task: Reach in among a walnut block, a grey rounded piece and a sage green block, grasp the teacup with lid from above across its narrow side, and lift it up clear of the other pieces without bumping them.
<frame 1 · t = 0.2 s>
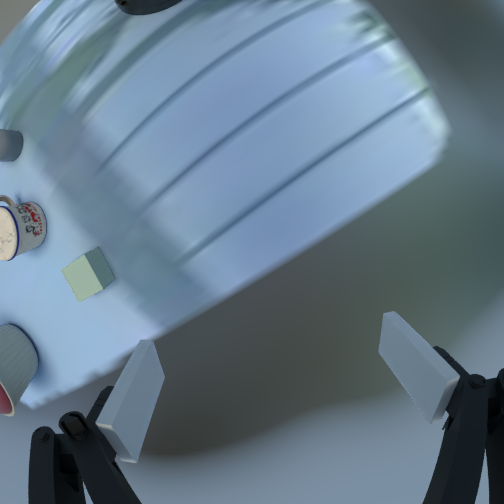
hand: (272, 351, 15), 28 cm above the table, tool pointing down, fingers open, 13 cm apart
canister: (22, 345, 46), on the table
teacup with lid: (29, 218, 39), on the table
grey rounded piece: (14, 146, 35), on the table
sage green block: (95, 269, 42), on the table
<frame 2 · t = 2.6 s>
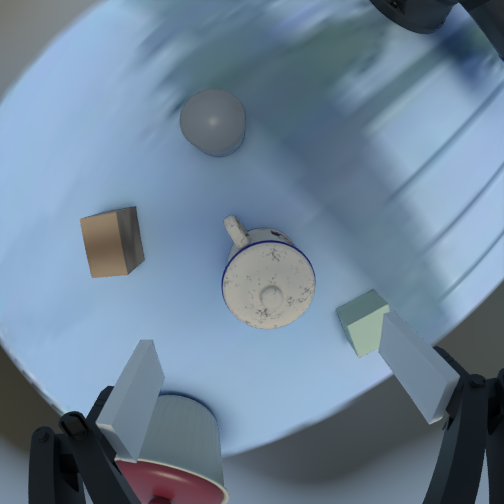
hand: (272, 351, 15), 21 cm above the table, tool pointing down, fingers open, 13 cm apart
canister: (180, 414, 42), on the table
walnut block: (123, 235, 34), on the table
teacup with lid: (256, 251, 35), on the table
grey rounded piece: (219, 132, 31), on the table
sage green block: (360, 315, 38), on the table
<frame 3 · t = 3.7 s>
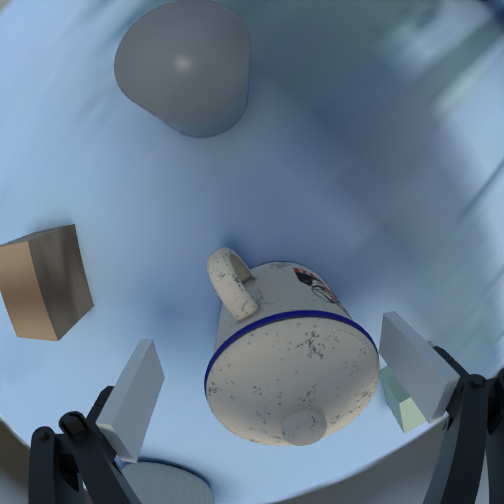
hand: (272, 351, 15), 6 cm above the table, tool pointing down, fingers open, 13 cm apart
canister: (167, 477, 28), on the table
walnut block: (62, 268, 20), on the table
teacup with lid: (267, 298, 21), on the table
grey rounded piece: (203, 96, 17), on the table
sage green block: (407, 374, 24), on the table
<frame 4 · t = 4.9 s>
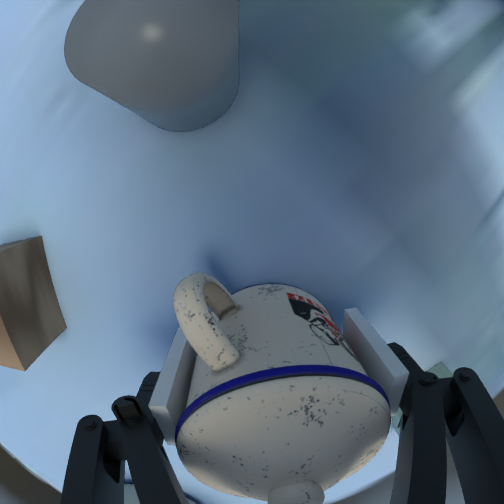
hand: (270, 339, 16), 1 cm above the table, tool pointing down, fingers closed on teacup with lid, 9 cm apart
canister: (158, 498, 24), on the table
walnut block: (32, 285, 16), on the table
teacup with lid: (256, 325, 17), on the table, touching gripper
grey rounded piece: (185, 83, 13), on the table
sage green block: (416, 396, 20), on the table
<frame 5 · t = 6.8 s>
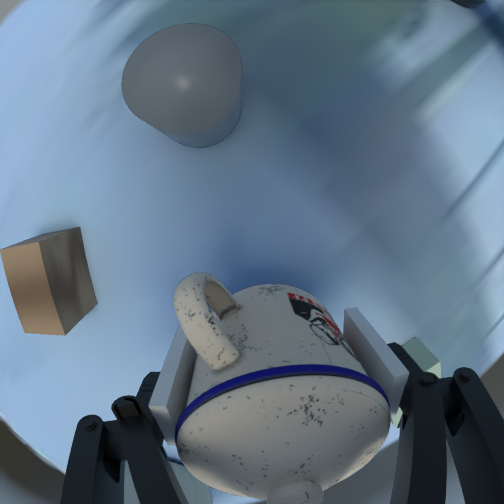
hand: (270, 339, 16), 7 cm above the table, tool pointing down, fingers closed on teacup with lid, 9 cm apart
canister: (165, 473, 29), on the table
walnut block: (67, 268, 21), on the table
teacup with lid: (256, 325, 17), point 5 cm above the table, touching gripper
grey rounded piece: (200, 109, 19), on the table
sage green block: (396, 369, 25), on the table
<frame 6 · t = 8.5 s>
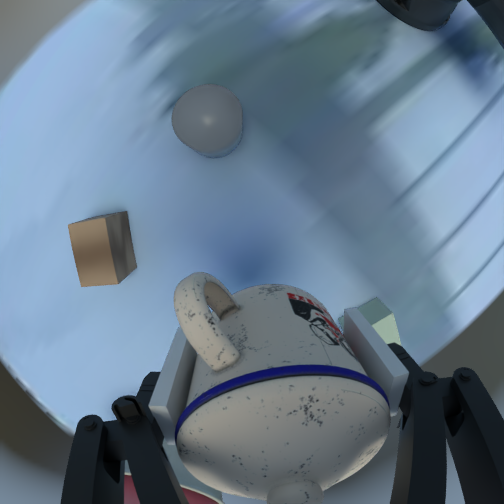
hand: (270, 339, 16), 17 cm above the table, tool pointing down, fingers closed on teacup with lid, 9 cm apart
canister: (176, 425, 40), on the table
walnut block: (114, 241, 31), on the table
teacup with lid: (256, 325, 17), point 16 cm above the table, touching gripper
grey rounded piece: (215, 132, 29), on the table
sage green block: (363, 324, 36), on the table
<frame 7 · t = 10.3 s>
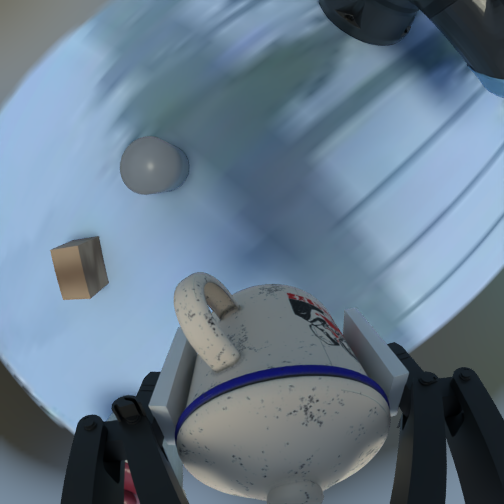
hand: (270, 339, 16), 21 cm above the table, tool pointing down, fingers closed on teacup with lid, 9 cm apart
canister: (150, 418, 44), on the table
walnut block: (90, 261, 36), on the table
teacup with lid: (256, 325, 17), point 20 cm above the table, touching gripper
grey rounded piece: (166, 168, 33), on the table
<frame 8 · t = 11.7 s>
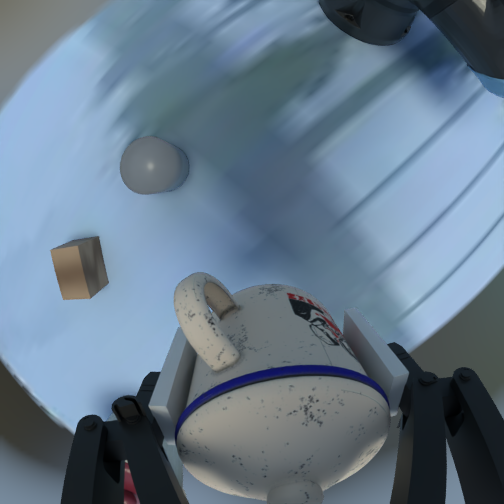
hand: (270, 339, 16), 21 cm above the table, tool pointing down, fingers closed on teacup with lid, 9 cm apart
canister: (150, 418, 44), on the table
walnut block: (90, 261, 36), on the table
teacup with lid: (256, 325, 17), point 20 cm above the table, touching gripper
grey rounded piece: (166, 168, 33), on the table
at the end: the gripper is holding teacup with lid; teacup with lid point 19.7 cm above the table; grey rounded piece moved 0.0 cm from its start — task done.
